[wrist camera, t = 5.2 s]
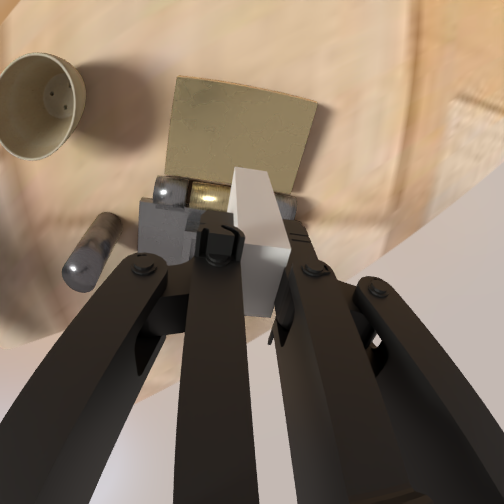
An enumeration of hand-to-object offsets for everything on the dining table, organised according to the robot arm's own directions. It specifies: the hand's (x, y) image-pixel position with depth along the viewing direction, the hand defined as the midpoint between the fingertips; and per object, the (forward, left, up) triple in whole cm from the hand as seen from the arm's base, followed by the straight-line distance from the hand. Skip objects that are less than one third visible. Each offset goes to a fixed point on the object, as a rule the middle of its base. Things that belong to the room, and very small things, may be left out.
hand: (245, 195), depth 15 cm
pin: (-13, -14, -18) cm, 26 cm away
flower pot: (-19, +1, -18) cm, 26 cm away
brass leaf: (0, -2, -18) cm, 18 cm away
